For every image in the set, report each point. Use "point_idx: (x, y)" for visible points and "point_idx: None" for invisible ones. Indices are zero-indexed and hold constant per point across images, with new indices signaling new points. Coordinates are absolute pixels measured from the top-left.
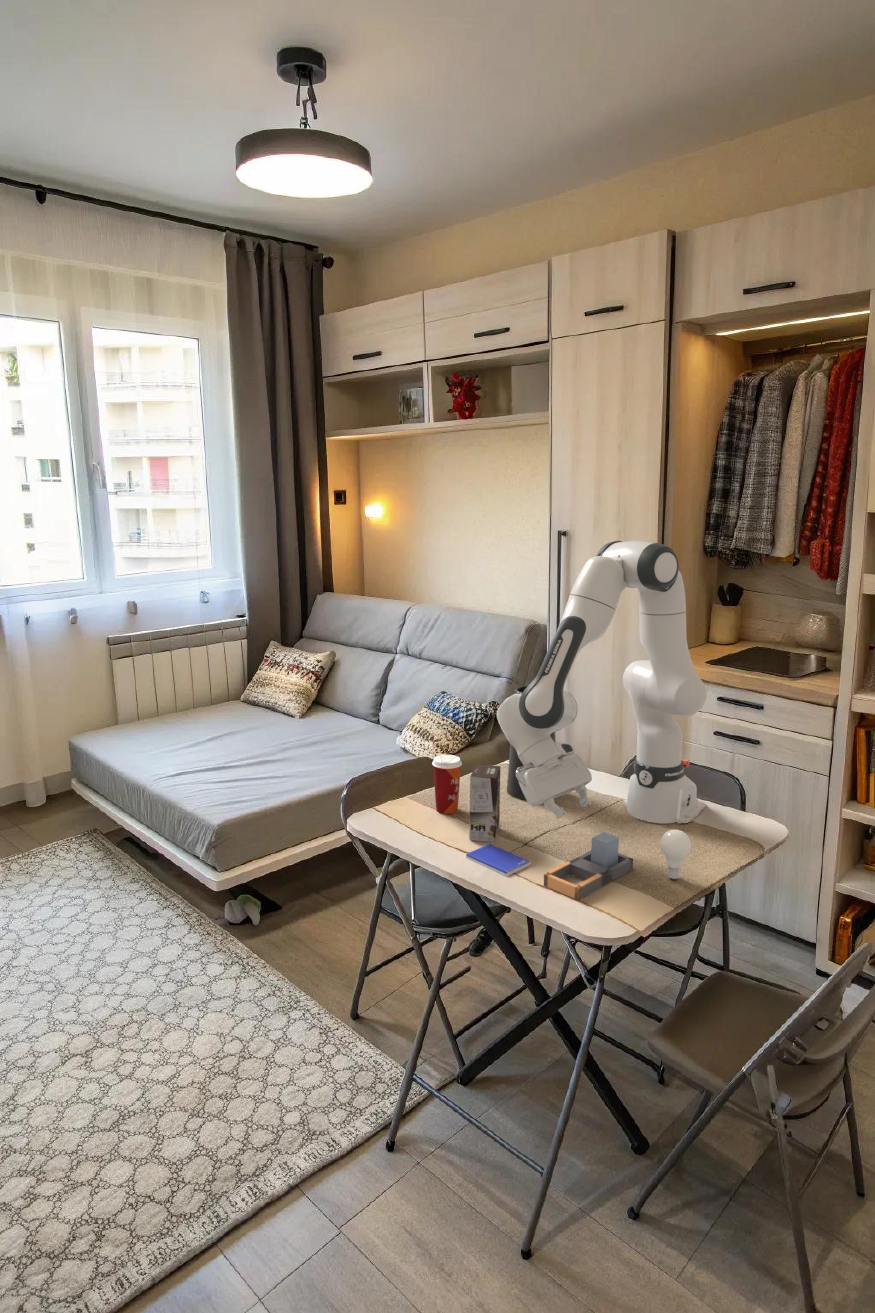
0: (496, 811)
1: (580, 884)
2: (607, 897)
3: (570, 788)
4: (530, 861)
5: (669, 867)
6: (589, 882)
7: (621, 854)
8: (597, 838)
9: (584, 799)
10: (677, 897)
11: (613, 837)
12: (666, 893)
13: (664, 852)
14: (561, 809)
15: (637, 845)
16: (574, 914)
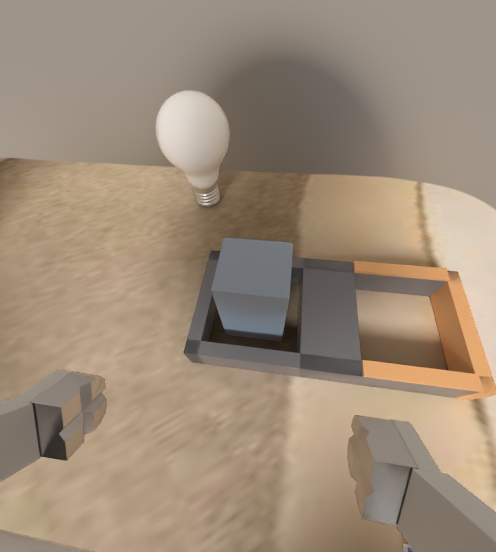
0: None
1: (443, 274)
2: (370, 251)
3: (74, 547)
4: (413, 550)
5: (215, 184)
6: (410, 266)
7: (203, 279)
8: (280, 280)
9: (73, 399)
10: (272, 177)
11: (236, 247)
12: (271, 191)
13: (224, 154)
14: (393, 448)
15: (74, 312)
16: (491, 266)
